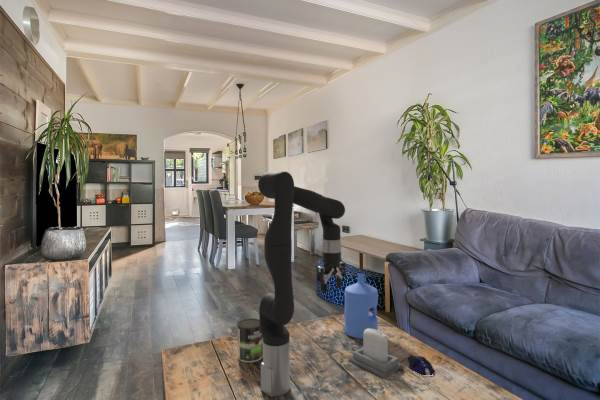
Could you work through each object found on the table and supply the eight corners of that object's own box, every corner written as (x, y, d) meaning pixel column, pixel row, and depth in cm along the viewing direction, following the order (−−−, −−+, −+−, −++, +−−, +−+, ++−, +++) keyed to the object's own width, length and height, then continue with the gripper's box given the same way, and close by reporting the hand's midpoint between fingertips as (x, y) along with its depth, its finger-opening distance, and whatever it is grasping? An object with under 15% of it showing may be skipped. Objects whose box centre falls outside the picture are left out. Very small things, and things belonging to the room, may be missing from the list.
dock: (384, 378, 130) (384, 369, 129) (348, 361, 142) (348, 352, 142) (402, 367, 138) (402, 358, 137) (366, 351, 150) (367, 343, 150)
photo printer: (361, 357, 142) (361, 327, 141) (368, 354, 145) (368, 324, 144) (382, 368, 134) (382, 336, 134) (389, 364, 137) (389, 333, 136)
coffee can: (267, 357, 145) (267, 323, 145) (246, 365, 139) (245, 330, 138) (254, 348, 153) (254, 316, 153) (233, 355, 147) (232, 322, 146)
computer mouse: (416, 379, 130) (416, 368, 129) (399, 359, 144) (399, 349, 144) (440, 377, 131) (440, 366, 131) (420, 357, 146) (420, 347, 146)
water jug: (346, 339, 161) (346, 278, 160) (343, 325, 177) (343, 270, 175) (380, 340, 161) (381, 279, 159) (374, 325, 176) (375, 270, 175)
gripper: (336, 246, 150) (336, 284, 151) (312, 251, 141) (312, 291, 141) (350, 249, 144) (350, 288, 145) (326, 254, 135) (325, 296, 136)
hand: (331, 290), depth 143 cm, fingers open, 8 cm apart
